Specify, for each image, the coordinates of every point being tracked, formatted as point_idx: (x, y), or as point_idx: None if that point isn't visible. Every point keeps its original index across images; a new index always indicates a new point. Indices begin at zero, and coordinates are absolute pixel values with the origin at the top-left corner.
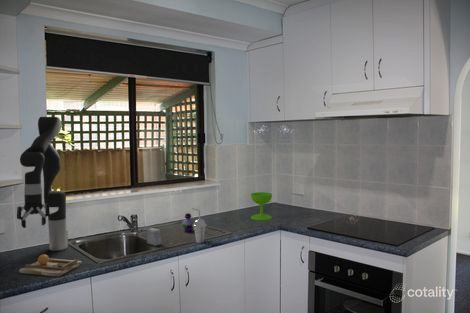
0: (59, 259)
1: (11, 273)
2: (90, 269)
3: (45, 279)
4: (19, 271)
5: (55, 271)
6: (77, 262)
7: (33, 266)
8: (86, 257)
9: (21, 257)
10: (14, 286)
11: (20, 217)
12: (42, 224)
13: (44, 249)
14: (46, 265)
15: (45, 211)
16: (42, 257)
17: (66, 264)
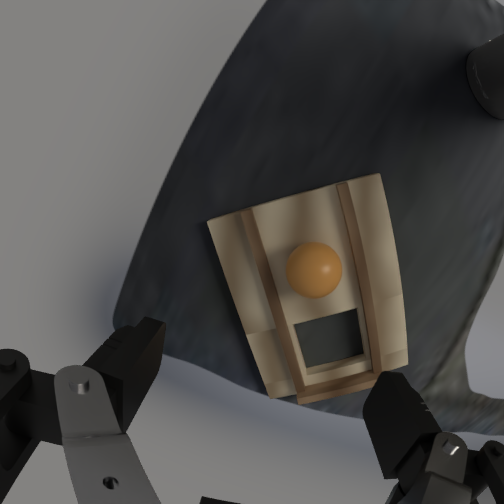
0: (395, 264)
1: (186, 194)
2: None
3: (228, 374)
4: (208, 220)
5: (277, 377)
6: (390, 365)
7: (256, 262)
8: (468, 306)
9: (338, 22)
10: None
11: (30, 441)
12: (373, 398)
13: (455, 32)
14: None
15: (500, 494)
16: (299, 291)
17: (321, 396)
